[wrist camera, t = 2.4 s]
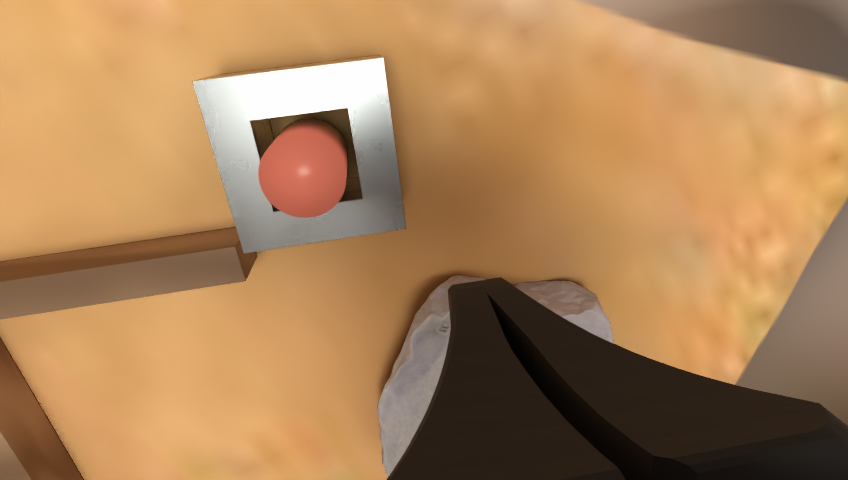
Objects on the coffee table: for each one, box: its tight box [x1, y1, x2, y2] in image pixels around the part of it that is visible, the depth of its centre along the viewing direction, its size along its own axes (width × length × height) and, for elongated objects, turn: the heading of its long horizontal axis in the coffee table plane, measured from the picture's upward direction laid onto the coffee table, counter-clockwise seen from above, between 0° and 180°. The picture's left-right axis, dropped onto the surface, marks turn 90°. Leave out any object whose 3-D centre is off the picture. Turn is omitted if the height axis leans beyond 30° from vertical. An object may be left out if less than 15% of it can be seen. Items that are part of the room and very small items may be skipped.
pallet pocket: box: [0, 227, 257, 480], centre depth 22 cm, size 19×13×2 cm
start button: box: [258, 119, 348, 218], centre depth 15 cm, size 3×3×3 cm
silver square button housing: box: [192, 55, 406, 253], centre depth 17 cm, size 6×6×3 cm
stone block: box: [377, 275, 613, 476], centre depth 23 cm, size 12×5×10 cm
